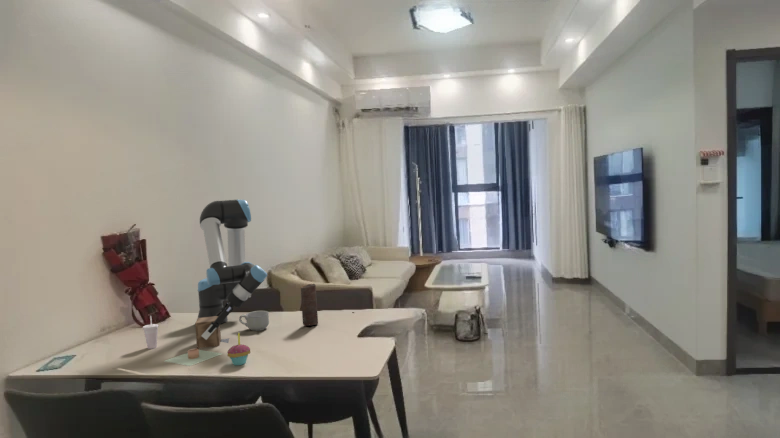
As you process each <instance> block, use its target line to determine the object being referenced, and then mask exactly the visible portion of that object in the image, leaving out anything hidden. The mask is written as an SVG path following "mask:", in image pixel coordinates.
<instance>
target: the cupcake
mask: <svg viewBox="0 0 780 438" xmlns="http://www.w3.org/2000/svg"><path fill="white" fill-rule="evenodd" d="M240 336H241V333H240V332H237V345H236V344H234V345H233V346H230V348H229V349H228V350H227V353H226V354H227V357H228V358H229V359H230V360H231V362H232V364H233V365H234V366H241V365H245V364H247V360H248V356H249V354H251V348H250V347H249V346H248V345H247V344H241V337H240Z"/></svg>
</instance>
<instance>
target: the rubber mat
mask: <svg viewBox="0 0 780 438" xmlns="http://www.w3.org/2000/svg"><path fill="white" fill-rule="evenodd" d="M229 341H230V338H221V342H220V343H225V344H229Z"/></svg>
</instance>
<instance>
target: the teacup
mask: <svg viewBox="0 0 780 438" xmlns="http://www.w3.org/2000/svg"><path fill="white" fill-rule="evenodd" d="M269 314H270V313H269V311H267V310H254V311H250V312H248V313H246V314H241V315H239V318H238V321H239V322H240V324H242V325H244V326H245V327H247V328H248V329H249V330H250V331H256V332H259V331H263V330H265V329H267V328H268V326H269V323H270V319H269V317H270V315H269ZM242 318H244V320H245V321H246V322H244V321H243V320H242Z"/></svg>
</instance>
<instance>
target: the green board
mask: <svg viewBox="0 0 780 438" xmlns="http://www.w3.org/2000/svg"><path fill="white" fill-rule="evenodd" d="M221 355H223V353H221V352H216V351H210V350H209V351H208V350H203V349H199V357H198V358H195V359H188V352H186V353H183V354H180V355H176V356H174V357H172V358H168V359H166V360H164V362H165V363H171V364H177V365H183V366H188V367H190V366H191V367H192V366H194V365H197V364H198V363H199V364H200V363H202V362H204V361H207V360H210V359H212V358H216V357H218V356H221Z"/></svg>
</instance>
